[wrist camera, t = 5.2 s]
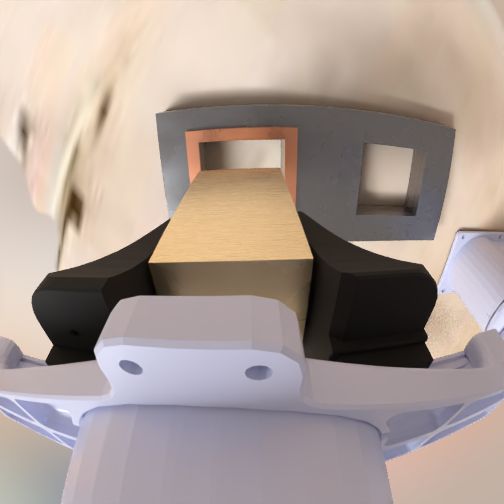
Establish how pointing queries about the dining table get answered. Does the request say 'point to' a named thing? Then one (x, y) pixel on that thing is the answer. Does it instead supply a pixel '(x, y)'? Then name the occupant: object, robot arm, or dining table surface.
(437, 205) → the socket rail
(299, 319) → the brass peg
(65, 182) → the dining table surface
